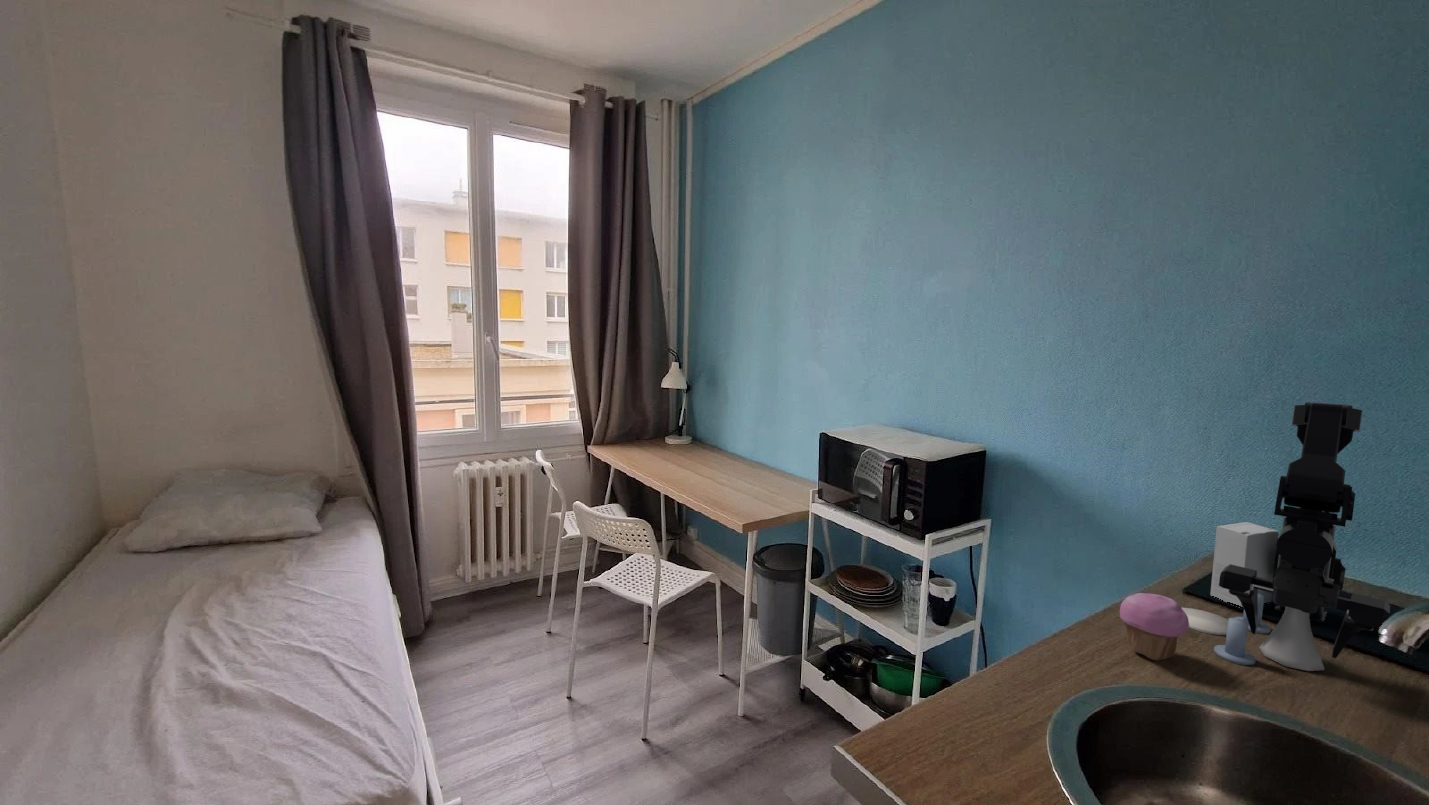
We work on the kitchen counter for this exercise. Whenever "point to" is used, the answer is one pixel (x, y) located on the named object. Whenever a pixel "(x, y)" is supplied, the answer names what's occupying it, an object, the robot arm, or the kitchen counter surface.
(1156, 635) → the cupcake
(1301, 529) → the robot arm
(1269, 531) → the skincare box
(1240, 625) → the pair of blue pegs
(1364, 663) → the kitchen counter surface
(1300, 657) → the flask
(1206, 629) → the cream round disc
